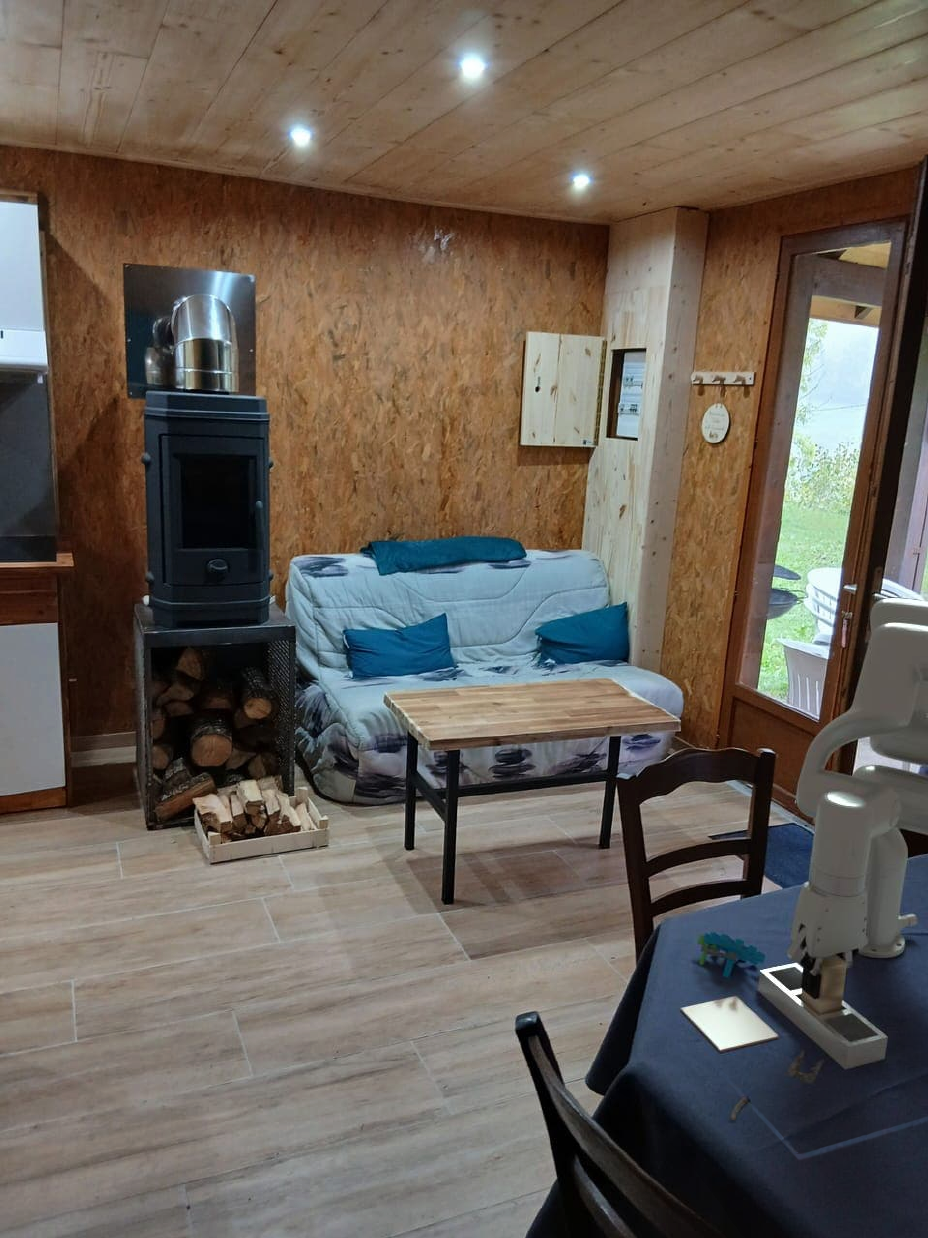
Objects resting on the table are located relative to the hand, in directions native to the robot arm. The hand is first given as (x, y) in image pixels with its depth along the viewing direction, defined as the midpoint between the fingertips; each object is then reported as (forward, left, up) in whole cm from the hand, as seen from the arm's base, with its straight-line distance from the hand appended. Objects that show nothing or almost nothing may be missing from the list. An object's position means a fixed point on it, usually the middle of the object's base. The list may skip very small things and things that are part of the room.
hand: (822, 989), depth 139 cm
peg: (0, 0, -5) cm, 5 cm away
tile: (+13, -4, -6) cm, 15 cm away
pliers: (+15, +10, -6) cm, 19 cm away
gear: (+4, -17, -6) cm, 18 cm away
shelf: (0, 0, -6) cm, 6 cm away
